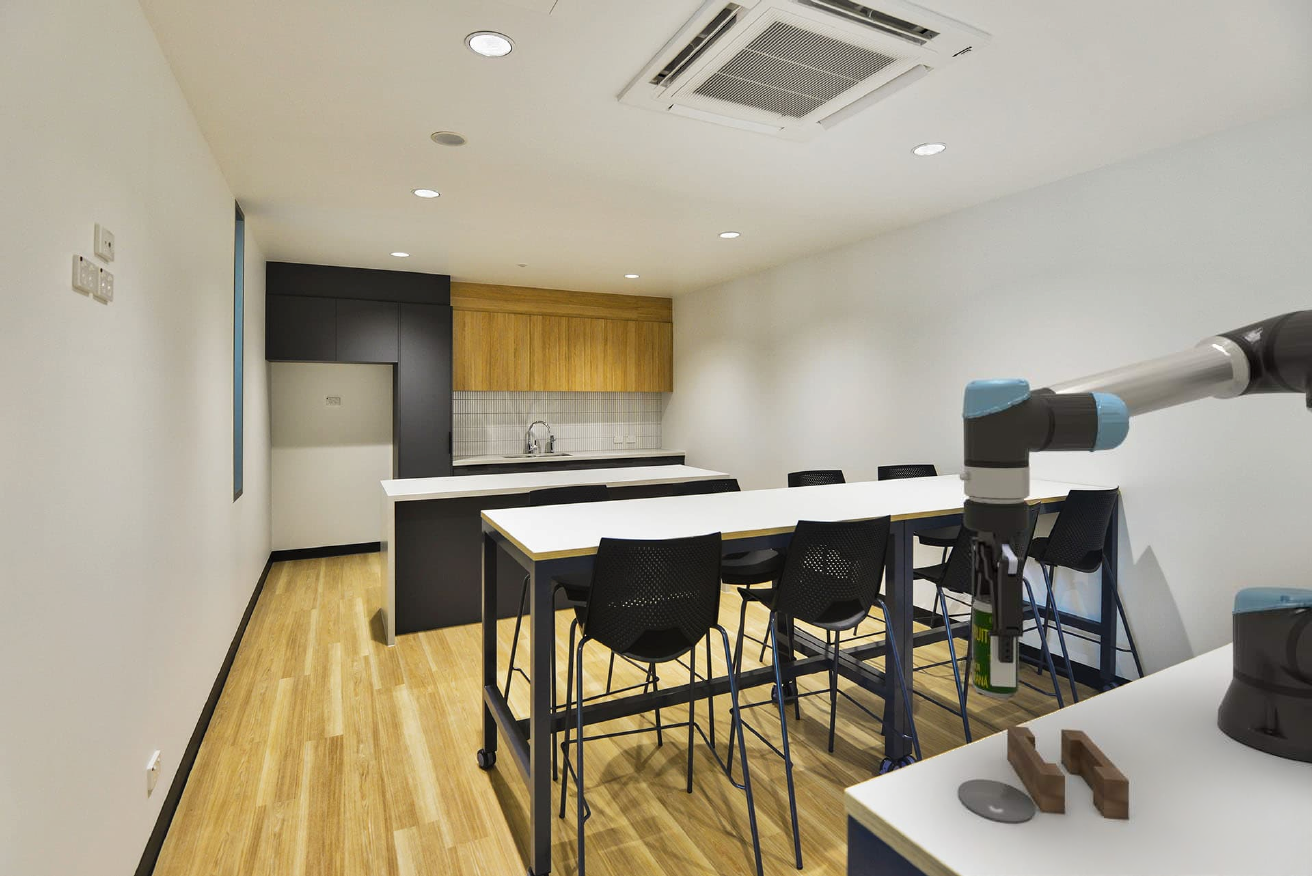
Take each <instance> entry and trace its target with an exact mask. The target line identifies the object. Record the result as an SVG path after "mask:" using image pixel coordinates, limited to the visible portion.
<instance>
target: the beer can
mask: <svg viewBox="0 0 1312 876" xmlns="http://www.w3.org/2000/svg"><path fill="white" fill-rule="evenodd" d="M974 600H975V601H974V603H973V605H971V607H972V610H971V611H972V615H971V616H972V625H971V626H972V627H971V628H972V634H971V635H972V642H971V643H972V647H971V648H972V655H971V657H972V660H971V661H972V672H971V674H972V675H971V676H972V685H973V686H974V689H975V691H977V693H980V694H981V695H983V696H986V697H989V698H992V699H993V698H995V699H1000V700H1001V699H1012V698H1014V697H1015V696H1016V695H1017V693H1018V691H1019V689H1020V688H1019V687H1020V683H1019V682H1020V681H1019V680H1020V677H1019V676H1020V675H1019V673H1020V669H1019V667H1020V665H1019V664H1020V663H1019V662H1020V661H1019V660H1020V659H1019V657H1020V656H1019V655H1020V649H1019V648H1020V645H1019V644H1020V643H1019V642H1020V641H1019V640H1020V637H1016V687H1003V686H992V685H991V636H989V635H988V632H987V631H993V629H994V628H993V615H992V603H991V595H979V596H976V597H975V598H974Z"/></svg>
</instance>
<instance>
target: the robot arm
mask: <svg viewBox="0 0 1312 876" xmlns="http://www.w3.org/2000/svg"><path fill="white" fill-rule="evenodd" d="M1257 394H1258V395H1261V394H1305V407H1306V410H1307V411H1308V412H1310V413H1312V309H1307V310H1296V311H1291V312H1287V313H1283V314H1280V315H1276V316H1272V317H1270V318H1266V319H1264V320H1263V319H1262V320H1260V321H1257V322H1254V323H1250V324H1248V325H1245V326H1241V327H1239V328H1235V329H1233V330H1229V331H1226V332H1223V333H1220V334H1215V335H1212V336H1208V337H1206V338H1203V339H1202V340H1200V341H1199V342H1198V343H1196V345H1195V346H1194V347H1193V348H1190V349H1185V350H1182V351H1178V352H1174V353H1171V354H1166V355H1163V356H1159V357H1155V358H1152V359H1148V360H1143V361H1140V362H1136V363H1133V364H1127V365H1125V366H1121V367H1117V368H1113V369H1109V370H1104V371H1100V372H1097V373H1093V374H1090V375H1085V376H1081V377H1078V378H1075V379H1071V380H1067V381H1064V382H1058V383H1055V384H1051V385H1047V386H1043V387H1041V388H1037V389H1032V390H1031V387H1030V383H1029V381H1028V380H1027V379H1025V378H992V379H989V378H988V379H977V380H976V379H975V380H972V381H970V382H969V383H967V385H966V386H965V388H964V396H963V407H962V414H961V417H962V420H963V471H964V472H963V473H960V474H959V475H958V476H959V480H960V481H964V482H963V494H964V495H965V496H967V497H968V498H966V499H965V500H964V501H963V525H964V527H965V528H967V529H969V530H971V531H976V532H978V534H977V535H978V536H971V537H970V541H969V542H970V545H971V602H970V606H972V605H973V603H974V601H975V600H974V598H975V597H976V596H979V595H991V603H992V615H993V628H994V629H993V631H987V632H988V635H989V636H991V685H992V686H1003V687H1016V637H1019V638H1023V637H1024V585H1023V583H1024V582H1023V581H1024V571H1025V570H1024V568H1025V564H1026V563H1025V559H1024V557H1023V556H1018V548H1017V546H1016V545H1015V541H1014V540H1015V539H1014V535H1015V534H1017V533H1018V534H1019V533H1024V532H1026V531H1027V530H1029V527H1030V504H1029V503H1028V502H1027V501H1025V499H1027V498H1028V497H1029V496H1030V491H1031V490H1030V484H1031V483H1030V479H1031V478H1030V472H1031V470H1030V453H1040V452H1090V453H1094V452H1095V451H1096V452H1097V451H1099V452H1100V451H1110V450H1113V449H1116V448H1118V447H1119V446H1120V445H1122V444H1123V442H1124V441H1125V440H1126V438H1127V437H1128V433H1129V432H1130V431H1129V430H1130V418H1132V417H1136V416H1140V415H1144V414H1148V413H1151V412H1152V413H1153V412H1155V411H1159V410H1163V409H1167V408H1171V407H1175V406H1180V405H1183V404H1187V403H1191V402H1195V401H1200V400H1201V399H1202V400H1204V399H1206V398H1209V397H1211V398H1214V399H1217V400H1218V399H1219V400H1231V399H1234V398H1239V397H1241V396H1248V395H1257ZM1231 679H1232V680H1231V682H1230V683H1229V686H1228V687H1227V690H1226V692H1225V694H1224V696H1223V698H1222V701H1221V703H1220V705H1219V707H1218V709H1217V726H1218V727H1219V729H1220V730H1221V731H1222V732H1223V733H1225V734H1226V735H1227V736H1229V737H1230V738H1232V739H1234V740H1236V741H1238V742H1240V743H1241V744H1244V745H1247V746H1250V747H1251V748H1254V749H1257V750H1259V751H1262V752H1265V753H1269V754H1272V755H1276V756H1280V757H1283V758H1286V759H1287V758H1288V759H1291V760H1292V759H1293V760H1298V761H1303V762H1310V763H1312V589H1306V588H1295V587H1277V586H1276V587H1272V586H1270V587H1269V586H1267V587H1266V586H1265V587H1264V586H1261V587H1260V586H1258V587H1247V588H1246V587H1245V588H1243V589H1241V590H1239V591H1238V592H1236V594H1235V596H1234V603H1233V611H1232V678H1231Z"/></svg>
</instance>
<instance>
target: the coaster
mask: <svg viewBox="0 0 1312 876" xmlns="http://www.w3.org/2000/svg"><path fill="white" fill-rule="evenodd" d="M957 795H958V796H957V797H958V800H959V801H960V803H961V804H962V805H963V806H964V807H965V808H966V809H967V810H969V811H971V812H972V813H973V814H975V815H977V816H980V817H981V818H984V819H987V820H990V821H993V822H998V823H1002V824H1003V823H1004V824H1022V823H1026V822H1029V821H1030V820H1032V819H1033V818H1034V817H1035V814H1036V806H1035V805H1036V804H1035V802H1034V800H1032V797H1031V796H1029V795H1027V794H1026V793H1025V792H1024V791H1022V790H1020V789H1019V788H1017V787H1015V786H1013V785H1010V784H1008V783H1005V782H1001V781H998V780H993V779H984V778H981V779H980V778H976V779H969V780H965V781H964V782H962V783H961V784H960V785H959V786H958V789H957ZM1030 797H1031V798H1030Z"/></svg>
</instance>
